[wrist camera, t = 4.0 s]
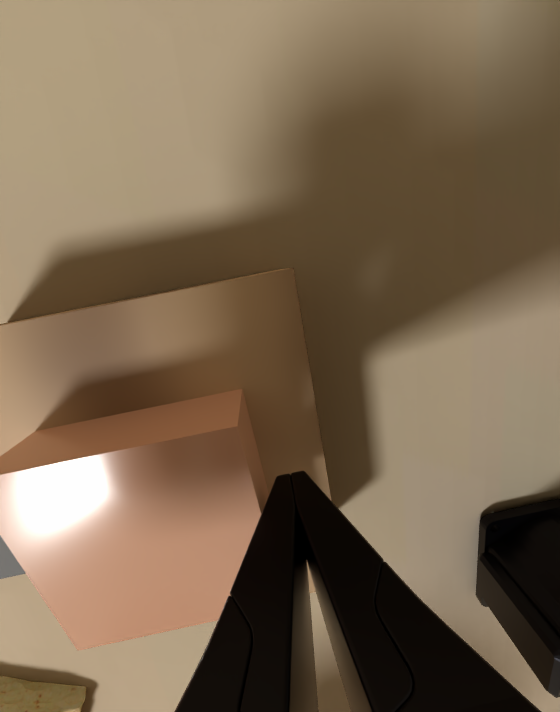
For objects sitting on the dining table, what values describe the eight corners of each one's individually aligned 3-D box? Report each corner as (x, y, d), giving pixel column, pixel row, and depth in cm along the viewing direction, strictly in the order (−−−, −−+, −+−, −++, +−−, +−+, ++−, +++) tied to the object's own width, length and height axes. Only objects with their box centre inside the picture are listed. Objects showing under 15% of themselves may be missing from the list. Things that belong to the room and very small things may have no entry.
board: (282, 268, 10) (293, 268, 7) (326, 519, 14) (345, 585, 11) (5, 323, 10) (-99, 345, 7) (125, 562, 13) (90, 641, 11)
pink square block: (242, 388, 8) (237, 426, 6) (280, 540, 10) (285, 605, 8) (35, 430, 8) (-36, 482, 6) (113, 575, 10) (78, 650, 8)
